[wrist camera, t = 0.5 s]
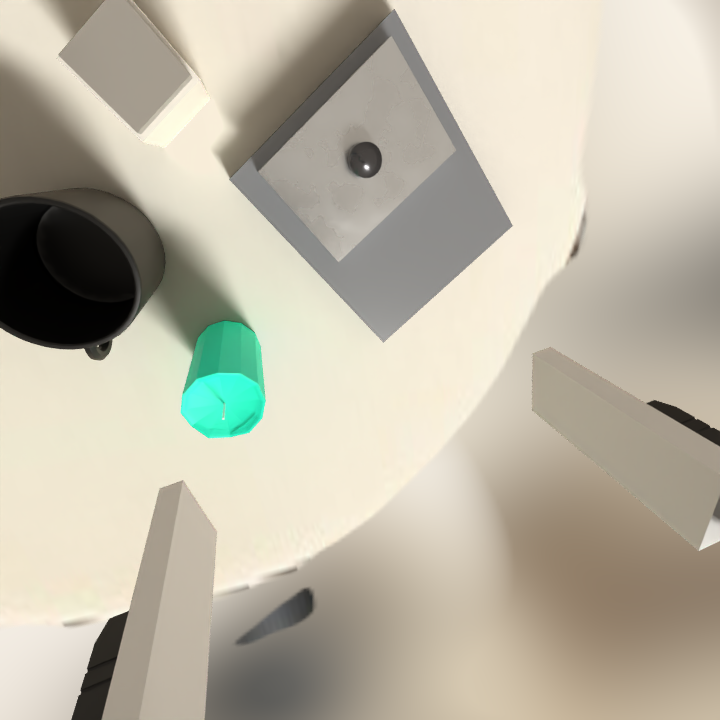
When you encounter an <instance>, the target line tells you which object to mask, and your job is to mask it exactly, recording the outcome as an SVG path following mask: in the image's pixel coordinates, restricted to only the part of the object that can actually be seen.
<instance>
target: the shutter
mask: <svg viewBox="0 0 720 720" xmlns="http://www.w3.org/2000/svg"><path fill="white" fill-rule="evenodd" d="M455 151H456V149H455V147H454V145H453V143H452V142H451V140H450V138H449V136H448V135H447V133H446V131H445V129H444V128H443V126H442V124H441V122H440V121H439V119H438V117H437V115H436V113H435V112H434V110H433V108H432V106H431V105H430V103H429V101H428V99H427V98H426V96H425V94H424V92H423V91H422V89H421V87H420V85H419V83H418V82H417V80H416V78H415V76H414V75H413V73H412V71H411V69H410V68H409V66H408V64H407V62H406V61H405V59H404V57H403V55H402V54H401V52H400V50H399V48H398V46H397V45H396V43H395V41H394V39H393V38H392V36H391V37H389V38H388V39H387V40H386V41H385V42H384V43H383V44H382V45H381V46H380V47H379V48H378V49H377V50H376V51H375V52H374V53H373V54H372V55H371V56H370V57H369V58H368V59H367V60H366V61H365V62H364V63H363V64H362V65H361V66H360V67H359V68H358V69H357V70H356V71H355V72H354V73H353V74H352V75H351V76H350V77H349V78H348V79H347V81H346V82H345V83H344V84H343V85H342V86H341V87H340V88H339V89H338V90H337V91H336V92H335V93H334V94H333V95H332V96H331V97H330V98H329V99H328V100H327V101H326V102H325V103H324V104H323V105H322V106H321V107H320V108H319V109H318V110H317V111H316V112H315V113H314V114H313V115H312V116H311V117H310V118H309V119H308V120H307V121H306V122H305V124H304V125H303V126H302V127H301V128H300V129H299V130H298V131H297V132H296V133H295V134H294V135H293V136H292V137H291V138H290V139H289V140H288V141H287V142H286V143H285V144H284V145H283V146H282V147H281V148H280V149H279V150H278V151H277V152H276V153H275V154H274V155H273V156H272V157H271V158H270V159H269V160H268V161H267V162H266V163H265V164H264V165H263V166H262V168H261V169H260V170H259V171H258V173H259V174H260V175H261V176H262V177H263V178H264V179H265V181H266V182H267V183H268V184H269V185H270V186H271V187H272V188H273V190H274V191H275V192H276V193H277V194H278V195H279V196H280V197H281V199H282V200H283V201H284V202H285V203H286V204H287V205H288V206H289V208H290V209H291V210H292V211H293V212H294V213H295V214H296V215H297V217H298V218H299V219H300V220H301V221H302V222H303V223H304V224H305V225H306V227H307V228H308V229H309V230H310V231H311V232H312V233H313V234H314V236H315V237H316V238H317V239H318V240H319V241H320V242H321V243H322V245H323V246H324V247H325V248H326V249H327V250H328V251H329V252H330V254H331V255H332V256H333V257H334V258H335V259H336V260H337V261H338V262H340V261H341V260H342V259H343V258H344V257H345V256H346V255H347V254H348V253H349V252H350V251H351V250H352V249H353V248H354V247H355V246H356V245H357V244H358V243H359V242H361V241H362V240H363V239H364V238H365V237H366V236H367V235H368V234H369V233H370V232H371V231H372V230H373V229H374V228H375V227H376V226H377V225H378V224H379V223H380V222H382V221H383V220H384V219H385V218H386V217H387V216H388V215H389V214H390V213H391V212H392V211H393V210H394V209H395V208H396V207H397V206H398V205H399V204H400V203H401V202H403V201H404V200H405V199H406V198H407V197H408V196H409V195H410V194H411V193H412V192H413V191H414V190H415V189H416V188H417V187H418V186H419V185H420V184H421V183H422V182H424V181H425V180H426V179H427V178H428V177H429V176H430V175H431V174H432V173H433V172H434V171H435V170H436V169H437V168H438V167H439V166H440V165H441V164H442V163H443V162H444V161H446V160H447V159H448V158H449V157H450V156H451V155H452V154H453V153H454V152H455Z"/></svg>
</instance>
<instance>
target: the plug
mask: <svg viewBox="0 0 720 720" xmlns="http://www.w3.org/2000/svg"><path fill="white" fill-rule="evenodd" d="M58 55H59V56H58V57H57V59H58V60H59V61H60V62H61V63H62V64H63V65H64V66H65V67H66V68H67V69H68V70H69V71H70V72H71V73H72V74H73V75H74V76H75V77H76V78H77V79H78V80H79V81H80V82H81V83H82V84H83V85H84V86H85V87H86V88H87V89H88V90H89V91H90V92H91V93H92V94H93V95H94V96H95V97H96V98H97V99H98V100H100V101H101V102H102V103H103V104H104V105H105V106H106V107H107V108H108V109H109V110H110V111H111V112H112V113H113V114H114V115H115V116H116V117H117V118H118V119H119V120H120V121H121V122H122V123H123V124H124V125H125V126H126V127H127V128H128V129H129V130H130V131H131V132H132V133H133V134H134V135H135V136H136V137H137V138H138V139H139V140H140V141H141V142H142V143H147V144H151V145H155V146H159V147H163V148H165V147H166V146H167V145H168V144H169V143H170V142H171V141H172V140H173V139H174V138H175V137H176V136H177V134H178V133H179V132H180V131H181V130H182V129H183V128H184V127H185V126H186V125H187V124H188V123H189V122H190V120H191V119H192V118H193V117H194V116H195V115H196V114H197V113H198V112H199V111H200V110H201V109H202V108H203V107H204V105H205V104H206V103H207V102H208V101H209V100H210V97H209V95H208V93H207V91H206V89H205V87H204V85H203V83H202V81H201V79H200V78H199V77H198V76H197V75H196V73H195V72H194V71H193V70H192V69H191V68H190V66H189V65H188V64H187V63H186V62H185V61H184V59H183V58H182V57H181V56H180V55H179V54H178V52H177V51H176V50H175V49H174V48H173V47H172V45H171V44H170V43H169V42H168V41H167V40H166V38H165V37H164V36H163V35H162V34H161V32H160V31H159V30H158V29H157V28H156V27H155V25H154V24H153V23H152V22H151V21H150V20H149V18H148V17H147V16H146V15H145V14H144V13H143V11H142V10H141V9H140V8H139V7H138V6H137V4H136V3H135V2H134V1H133V0H105V1H104V2H103V3H102V4H101V5H100V6H99V8H98V9H97V10H96V11H95V12H94V13H93V15H92V16H91V17H90V18H89V19H88V20H87V22H86V23H85V24H84V25H83V26H82V27H81V29H80V30H79V31H78V32H77V33H76V35H75V36H74V37H73V38H72V39H71V40H70V42H69V43H68V44H67V45H66V46H65V47H64V49H63V50H62V51H61V52H60V53H59V54H58Z"/></svg>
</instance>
